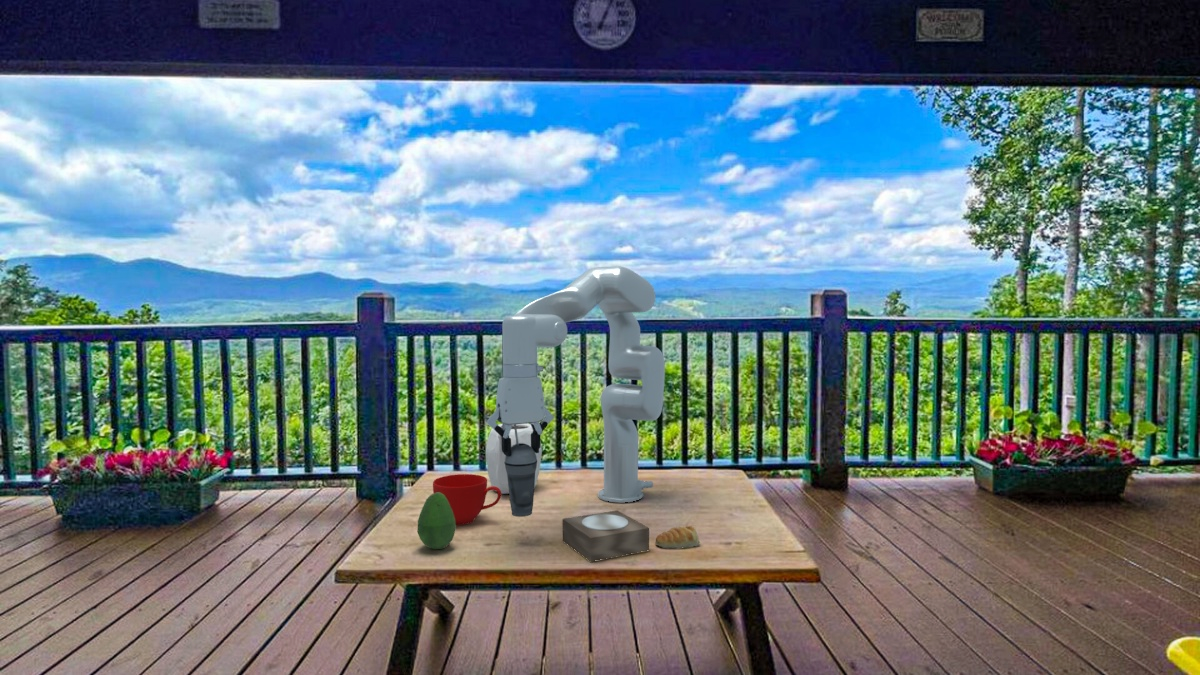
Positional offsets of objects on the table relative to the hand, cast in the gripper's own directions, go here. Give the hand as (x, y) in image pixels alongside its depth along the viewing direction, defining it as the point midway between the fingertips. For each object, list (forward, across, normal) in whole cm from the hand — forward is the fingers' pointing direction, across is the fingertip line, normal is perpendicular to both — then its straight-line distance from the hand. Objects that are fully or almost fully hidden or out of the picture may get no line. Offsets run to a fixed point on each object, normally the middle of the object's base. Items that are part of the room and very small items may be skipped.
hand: (521, 452), depth 139 cm
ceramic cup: (+20, +7, -20) cm, 29 cm away
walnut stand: (+20, -15, +10) cm, 27 cm away
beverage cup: (+14, 0, 0) cm, 14 cm away
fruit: (+20, +18, -4) cm, 27 cm away
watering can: (+21, -12, -40) cm, 47 cm away
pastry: (+21, -30, +17) cm, 40 cm away
